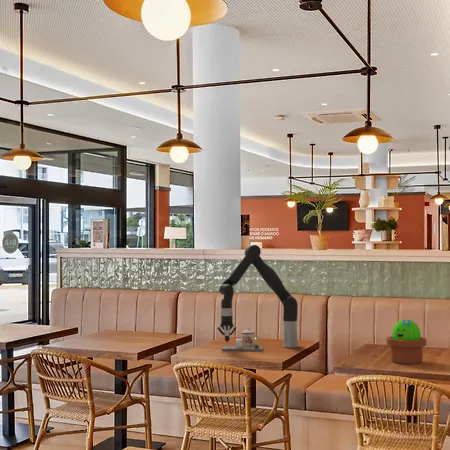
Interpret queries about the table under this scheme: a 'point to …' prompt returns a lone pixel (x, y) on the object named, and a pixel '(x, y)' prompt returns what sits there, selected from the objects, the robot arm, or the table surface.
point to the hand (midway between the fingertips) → (227, 341)
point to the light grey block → (238, 343)
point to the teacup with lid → (248, 337)
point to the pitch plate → (244, 347)
